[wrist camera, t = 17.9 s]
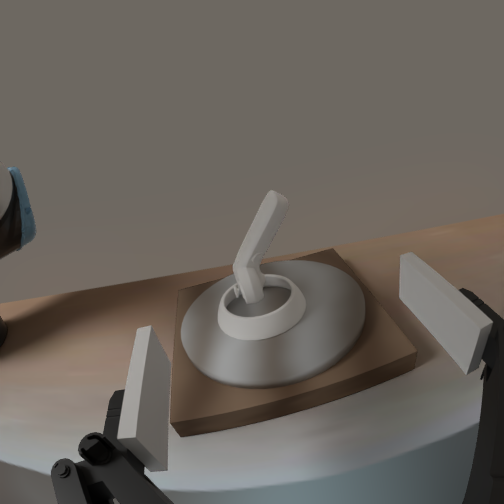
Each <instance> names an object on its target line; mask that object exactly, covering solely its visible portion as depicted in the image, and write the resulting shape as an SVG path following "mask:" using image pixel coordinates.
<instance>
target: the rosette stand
mask: <svg viewBox="0 0 504 504" xmlns="http://www.w3.org/2000/svg"><path fill="white" fill-rule="evenodd" d="M259 268H260V271H261V273H263V274H264V275H265V274H275V275H281V276H284V277H286V278H288V279H290V280H291V281H292V282H293V283H294V284H295V285H296V286H297V287H298V288H299V289H300V291H301V292H302V294H303V296H304V297H305V300H306V309H305V312H304V314H303V316H302V318H301V319H300V320H299V322H298V323H297V324H295V325H294V326H293V327H292V328H290V329H289V330H287V331H286V332H284V333H282V334H279V335H277V336H275V337H271V338H268V339H263V340H253V341H246V340H240V339H236V338H233V337H230V336H229V335H227V334H225V333H224V332H223V331H222V330H221V328H220V326H219V324H218V309H219V304H220V301H221V298H222V296H223V294H224V293H225V292H226V291H227V290H228V289H229V288H230V287H231V286H233V285H234V284H236V283H237V282H236V279H235V276H234V274H232V275H230V276H227V277H226V278H222V279H219V280H215V281H211V282H207V283H204V284H200V285H196V286H192V287H188V288H185V289H181V290H179V292H178V302H177V313H176V325H175V338H174V352H173V367H172V386H171V409H170V424H171V425H172V426H173V428H174V429H175V430H176V432H177V433H178V434H179V435H180V437H185V436H191V435H197V434H203V433H209V432H214V431H220V430H225V429H230V428H234V427H239V426H244V425H248V424H252V423H257V422H261V421H265V420H269V419H273V418H277V417H280V416H284V415H288V414H291V413H295V412H298V411H302V410H305V409H308V408H312V407H315V406H318V405H321V404H324V403H327V402H330V401H333V400H336V399H339V398H342V397H345V396H348V395H351V394H353V393H356V392H359V391H362V390H364V389H367V388H370V387H372V386H375V385H377V384H380V383H382V382H385V381H387V380H390V379H392V378H394V377H397V376H399V375H401V374H404V373H406V372H408V371H411V370H413V369H414V368H415V362H416V357H417V350H416V348H415V347H414V346H413V345H412V343H411V342H410V341H409V339H408V338H407V337H406V336H405V334H404V333H403V332H402V331H401V329H400V328H399V327H398V326H397V324H396V323H395V322H394V321H393V319H392V318H391V317H390V316H389V314H388V313H387V312H386V311H385V309H384V308H383V307H382V306H381V305H380V303H379V302H378V301H377V300H376V298H375V297H374V296H373V295H372V294H371V292H370V291H369V290H368V289H367V288H366V286H365V285H364V284H363V283H362V282H361V281H360V279H359V278H358V277H357V276H356V275H355V273H354V272H353V271H352V270H351V269H350V268H349V266H348V265H347V264H346V263H345V262H344V261H343V259H342V258H341V257H340V256H339V255H338V254H337V253H336V251H335V250H334V249H333V248H332V249H328V250H325V251H321V252H318V253H314V254H311V255H307V256H303V257H300V258H296V259H292V260H289V261H278V262H271V263H265V264H261V265H260V266H259ZM263 294H264V297H263V299H261V300H260V301H259V302H257V303H252V304H247V303H246V301H245V299H244V298H243V297H242V294H241V295H239V297H238V298H237V297H236V298H235V299H233V300H232V301H231V302H230V303H229V304H228V305H227V307H226V309H227V310H228V311H229V312H230V313H232V314H234V315H237V316H240V317H256V316H261V315H265V314H268V313H270V312H273V311H275V310H277V309H278V308H280V307H281V306H283V305H284V304H285V303H286V302H287V301H288V299H289V297H290V296H291V290H289V289H287V288H283V287H273V286H272V287H263Z"/></svg>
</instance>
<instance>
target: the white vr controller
mask: <svg viewBox="0 0 504 504" xmlns="http://www.w3.org/2000/svg"><path fill="white" fill-rule="evenodd" d="M288 207H289V202H288V200H287V199H286V198H285V197H284V196H283V195H281V194H279V193H277V192H275V191H273V190H271V191H269V192H268V193H267V195H266V197H265V198H264V200H263V202H262V204H261V206H260V208H259V210H258V212H257V214H256V216H255V218H254V220H253V222H252V225H251V226H250V228H249V231H248V233H247V235H246V237H245V239H244V241H243V243H242V245H241V247H240V249H239V251H238V254H237V256H236V259H235V261H234V264H233V272H234V276H235V279H236V282H237V283H236V284H234V285H233V286H231V287H230V288H229V289H228V290H227V291H226V292H225V293H224V294H223V296H222V298H221V301H220V304H219V309H218V324H219V326H220V328H221V330H222V331H223V332H224V333H225V334H227V335H229V336H230V337H233V338H236V339H240V340H246V341H253V340H263V339H268V338H271V337H275V336H277V335H279V334H282V333H284V332H286V331H287V330H289V329H290V328H292V327H293V326H294V325H295V324H297V323H298V322H299V320H300V319H301V318H302V316H303V314H304V312H305V309H306V300H305V297H304V296H303V294H302V292H301V291H300V289H299V288H298V287H297V286H296V285H295V284H294V283H293V282H292V281H291V280H290V279H288V278H286V277H284V276H281V275H275V274H265V275H264V274H263V273H261V271H260V268H259V266H260V263H261V260H262V258H263V256H264V254H265V252H267V250H268V248H269V246H270V244H271V242H272V240H273V238H274V236H275V235H276V232H277V231H278V229H279V227H280V225H281V223H282V221H283V219H284V217H285V215H286V213H287V211H288ZM272 286H273V287H283V288H287V289H289V290H291V296H290V297H289V299H288V301H287V302H286V303H285V304H284V305H283V306H281V307H280V308H278V309H277V310H275V311H273V312H270V313H268V314H265V315H261V316H256V317H240V316H237V315H234V314H232V313H230V312H229V311H228V310H227V309H226V307H227V305H228V304H229V303H230V302H231V301H232V300H233V299H235V298H236V297H237V298H238V297H239V295H241V294H242V297H243V298H244V299H245V301H246V303H247V304H252V303H257V302H259V301H260V300H261V299H263V297H264V294H263V287H272Z"/></svg>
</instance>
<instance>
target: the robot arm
mask: <svg viewBox="0 0 504 504" xmlns="http://www.w3.org/2000/svg"><path fill="white" fill-rule="evenodd" d="M35 235H36V225H35V221H34V216H33V213H32V210H31V208H30V203H29V198H28V195H27V191H26V188H25V185H24V182H23V178H22V175H21V173H20V171H19V169H18V168H17V167H11V168H10V167H8V168H6V166H5V165H4V164H3V163H2V162H0V259H2V258H4V257H5V256H7V255H9V254H11V253H12V252H14V251H18V250H20V249H21V248H22V247H23V246H24V245H26V244H27V243H29V242H31V241H32V240H33V239H34V237H35ZM399 298H400V299H401V300H402V302H403V303H404V304H405V305H406V306H407V307H408V308H409V309H410V310H411V311H412V313H413V314H414V315H415V316H416V317H417V318H418V319H419V320H420V321H421V323H422V324H423V325H424V326H425V327H426V328H427V329H428V330H429V332H430V333H431V334H432V335H433V336H434V337H435V338H436V340H437V341H438V342H439V343H440V344H441V345H442V347H443V348H444V349H445V350H446V351H447V353H448V354H449V355H450V356H451V357H452V358H453V360H454V361H455V362H456V363H457V364H458V366H459V367H460V368H461V369H462V371H463V372H464V373H465V374H466V375H467V374H469V373H471V372H472V371H474V370H476V369H477V368H479V365H480V362H481V359H483V361H484V362H485V363H486V364H485V367H484V370H483V372H482V375H481V378H480V380H482V379H483V376H484V382H483V395H482V406H481V415H480V423H479V430H478V437H477V443H476V449H475V454H474V459H473V464H472V469H471V474H470V478H469V482H468V486H467V490H466V494H465V498H464V501H463V503H462V504H504V320H503V319H502V318H501V317H500V316H499V315H498V314H497V313H496V312H494V311H493V310H492V309H491V308H490V307H489V306H488V305H487V304H484V302H483V301H482V300H481V299H479V298H478V297H477V296H476V295H475V294H474V293H473V292H471V291H469V290H466V289H464V288H462V289H460V290H457V289H456V288H455V287H454V286H453V285H451V284H450V283H449V282H448V281H447V280H446V279H444V278H443V277H442V276H441V275H440V274H438V273H437V272H436V271H435V270H434V269H432V268H431V267H430V266H429V265H428V264H426V263H425V262H424V261H423V260H421V259H420V258H419V257H418V256H416V255H415V254H414V253H413V252H409V253H406V254H403V255H400V287H399ZM6 334H7V326H6V324H5V323H4V321H3V320H2V318H1V316H0V346H1V345H2V343H3V341H4V339H5V337H6ZM170 375H171V362H170V361H169V359H168V357H167V355H166V353H165V351H164V349H163V347H162V345H161V344H160V342H159V340H158V338H157V336H156V334H155V332H154V330H153V328H152V326H146V327H142V328H138V329H137V333H136V338H135V342H134V347H133V352H132V357H131V361H130V366H129V371H128V377H127V382H126V387H125V389H124V390H118V391H115V392H114V394H113V395H112V397H111V399H110V401H109V406H108V411H107V416H106V417H107V418H106V421H105V426H104V431H103V434H101V433H97V432H94V433H90V434H88V435H86V436H85V437H84V438H83V439H82V440H81V442H80V444H79V448H78V451H79V454H80V456H81V457H82V458H83V459H85V460H84V461H81V462H78V463H74V462H73V461H71V460H70V459H66V458H64V459H60V460H59V461H57V462H56V463H55V464H54V465H53V467H52V470H51V477H52V482H53V486H54V490H55V494H56V498H57V502H58V504H114V502H113V499H114V498H116V499H117V501H118V502H119V503H120V504H174V503H173V502H172V501H171V500H170V499H169V498H168V497H167V496H166V495H164V493H163V492H162V491H161V490H160V489H159V488H158V487H157V486H156V485H155V484H154V483H153V482H152V481H151V480H150V479H149V478H148V477H147V476H146V475H145V474H144V467H146V468H147V469H148V470H149V471H150V472H155V471H166V470H168V418H169V394H170Z"/></svg>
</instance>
